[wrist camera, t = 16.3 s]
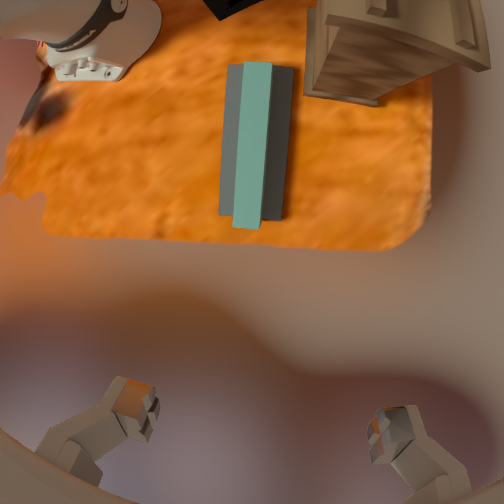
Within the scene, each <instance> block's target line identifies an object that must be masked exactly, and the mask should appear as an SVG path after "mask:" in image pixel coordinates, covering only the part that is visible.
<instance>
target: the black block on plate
mask: <svg viewBox="0 0 504 504" xmlns="http://www.w3.org/2000/svg"><path fill="white" fill-rule="evenodd" d="M203 1H204V3H205V4H206V5H207V6H208V8H209V9H210V10H211V11H212V12H213V14H214V15H215V16H216V17H217V19H218V20H219V21H221V20H223V19H225V18H227V17H229V16H231V15H233V14H235V13H237V12H239V11H241V10H243V9H245V8H247V7H249V6H251V5H254V4H256V3H258V2H260V1H263V0H203Z"/></svg>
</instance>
